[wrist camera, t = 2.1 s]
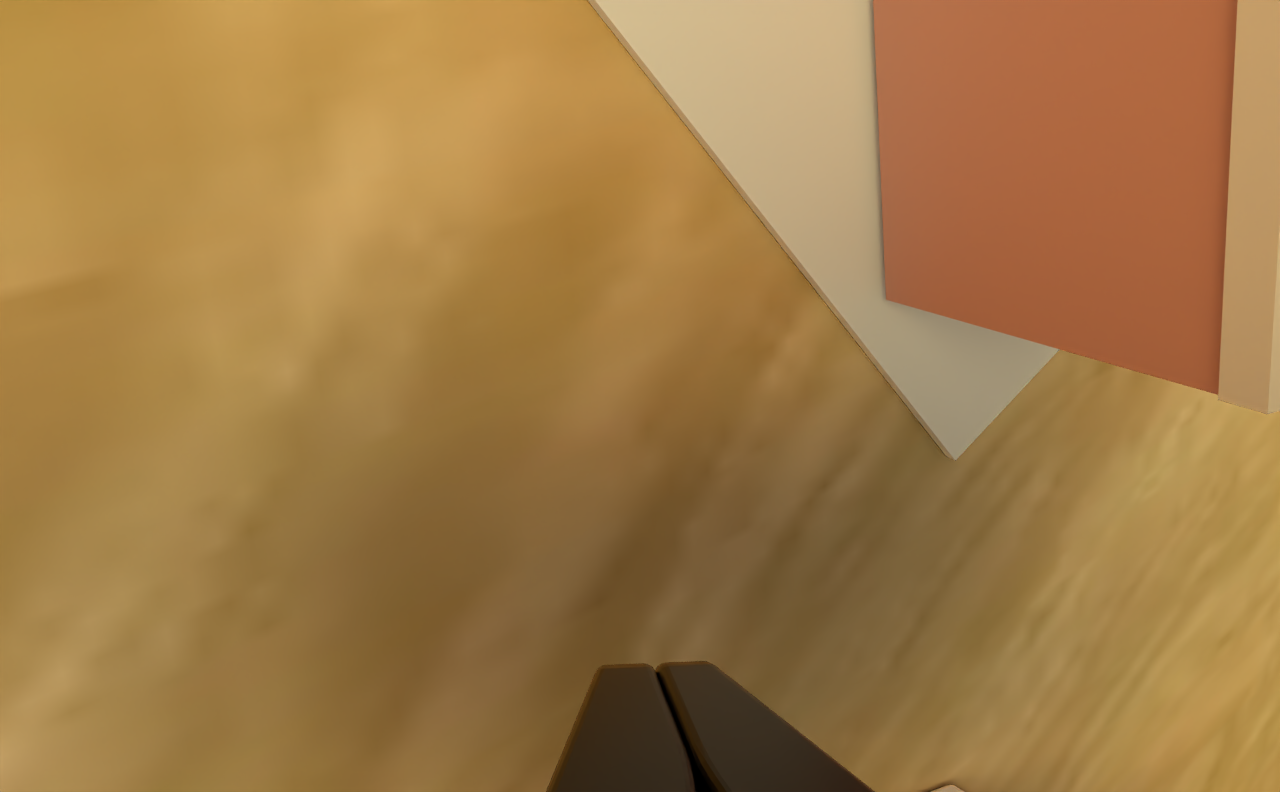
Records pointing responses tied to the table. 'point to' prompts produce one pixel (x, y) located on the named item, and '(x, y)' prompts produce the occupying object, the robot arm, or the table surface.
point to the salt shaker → (948, 789)
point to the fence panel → (1090, 178)
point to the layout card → (820, 180)
